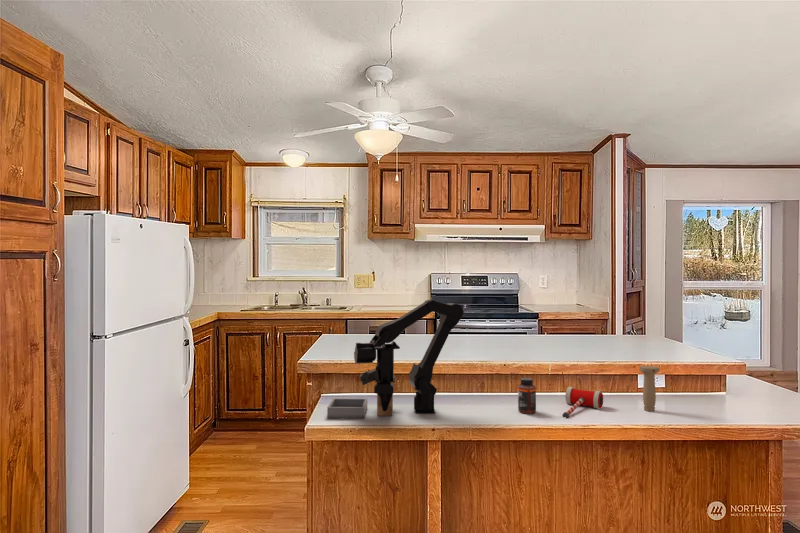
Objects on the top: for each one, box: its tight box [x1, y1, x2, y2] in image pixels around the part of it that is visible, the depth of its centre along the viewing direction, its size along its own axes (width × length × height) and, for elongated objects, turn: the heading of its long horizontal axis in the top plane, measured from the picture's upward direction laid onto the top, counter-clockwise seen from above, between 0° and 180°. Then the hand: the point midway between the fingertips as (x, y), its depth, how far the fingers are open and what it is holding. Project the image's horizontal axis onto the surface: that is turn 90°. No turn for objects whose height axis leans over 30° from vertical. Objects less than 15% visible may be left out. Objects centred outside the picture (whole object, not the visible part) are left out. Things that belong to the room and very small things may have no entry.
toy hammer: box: [562, 386, 604, 419], centre depth 172 cm, size 23×12×6 cm, turn 142°
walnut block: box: [376, 394, 394, 417], centre depth 167 cm, size 5×5×7 cm
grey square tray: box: [326, 397, 368, 420], centre depth 167 cm, size 12×12×4 cm
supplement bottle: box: [517, 377, 537, 415], centre depth 170 cm, size 6×6×11 cm
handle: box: [638, 365, 660, 412], centre depth 172 cm, size 5×6×15 cm
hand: (385, 408), depth 167 cm, fingers closed on walnut block, 5 cm apart
